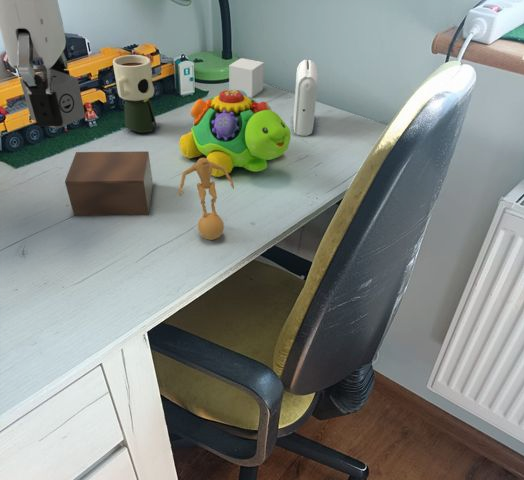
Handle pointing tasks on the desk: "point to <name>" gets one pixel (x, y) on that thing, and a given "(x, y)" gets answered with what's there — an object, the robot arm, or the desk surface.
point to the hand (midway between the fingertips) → (57, 111)
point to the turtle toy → (235, 132)
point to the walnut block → (110, 183)
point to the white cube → (246, 76)
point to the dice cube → (62, 97)
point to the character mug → (135, 91)
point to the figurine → (209, 222)
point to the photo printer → (305, 97)
